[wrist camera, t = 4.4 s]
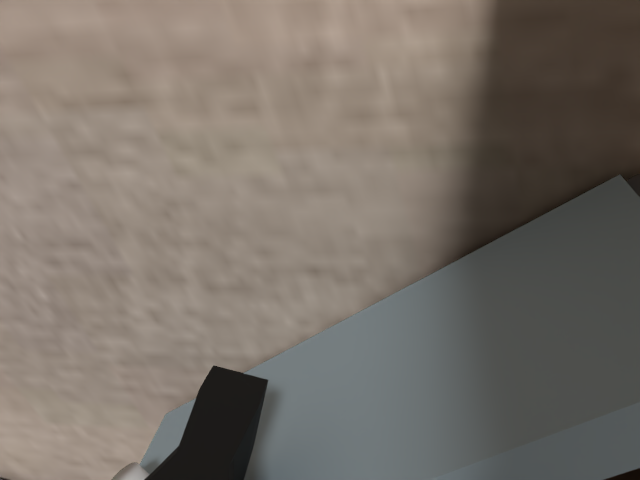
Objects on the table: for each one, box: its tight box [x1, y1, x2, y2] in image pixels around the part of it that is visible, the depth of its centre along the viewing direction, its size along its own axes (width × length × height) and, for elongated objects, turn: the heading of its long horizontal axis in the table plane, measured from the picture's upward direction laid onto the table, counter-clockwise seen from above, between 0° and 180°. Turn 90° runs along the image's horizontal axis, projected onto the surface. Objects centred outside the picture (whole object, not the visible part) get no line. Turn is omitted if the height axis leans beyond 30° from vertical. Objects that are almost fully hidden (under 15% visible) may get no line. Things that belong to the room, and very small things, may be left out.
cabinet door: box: [112, 174, 640, 480], centre depth 13 cm, size 16×2×6 cm, turn 127°
